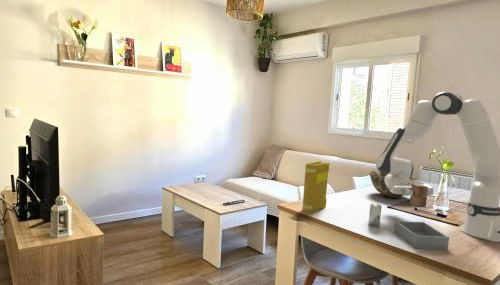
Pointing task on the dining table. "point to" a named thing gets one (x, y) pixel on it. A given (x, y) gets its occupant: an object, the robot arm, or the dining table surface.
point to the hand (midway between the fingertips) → (420, 193)
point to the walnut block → (419, 195)
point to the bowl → (383, 184)
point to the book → (315, 186)
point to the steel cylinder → (374, 215)
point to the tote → (421, 235)
